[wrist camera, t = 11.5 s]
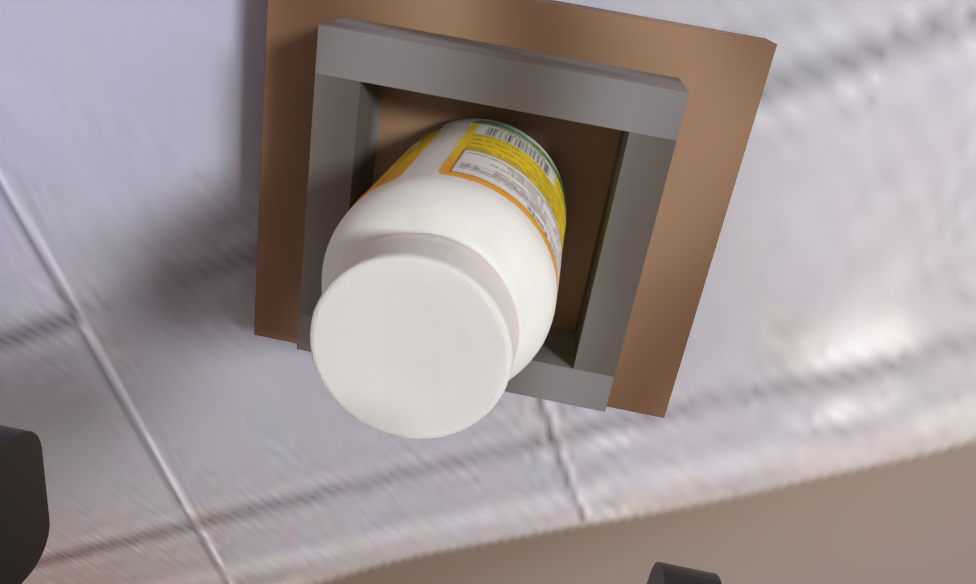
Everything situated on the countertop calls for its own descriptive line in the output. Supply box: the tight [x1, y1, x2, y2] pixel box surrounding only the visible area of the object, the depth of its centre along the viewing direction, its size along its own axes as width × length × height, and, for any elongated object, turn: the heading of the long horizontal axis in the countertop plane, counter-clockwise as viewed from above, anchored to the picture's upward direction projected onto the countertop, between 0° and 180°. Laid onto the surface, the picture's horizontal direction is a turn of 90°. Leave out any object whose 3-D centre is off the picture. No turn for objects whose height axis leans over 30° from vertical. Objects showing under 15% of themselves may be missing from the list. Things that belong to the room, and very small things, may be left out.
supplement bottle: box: [310, 118, 567, 439], centre depth 19 cm, size 5×5×10 cm
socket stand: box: [254, 0, 777, 418], centre depth 23 cm, size 14×12×4 cm
